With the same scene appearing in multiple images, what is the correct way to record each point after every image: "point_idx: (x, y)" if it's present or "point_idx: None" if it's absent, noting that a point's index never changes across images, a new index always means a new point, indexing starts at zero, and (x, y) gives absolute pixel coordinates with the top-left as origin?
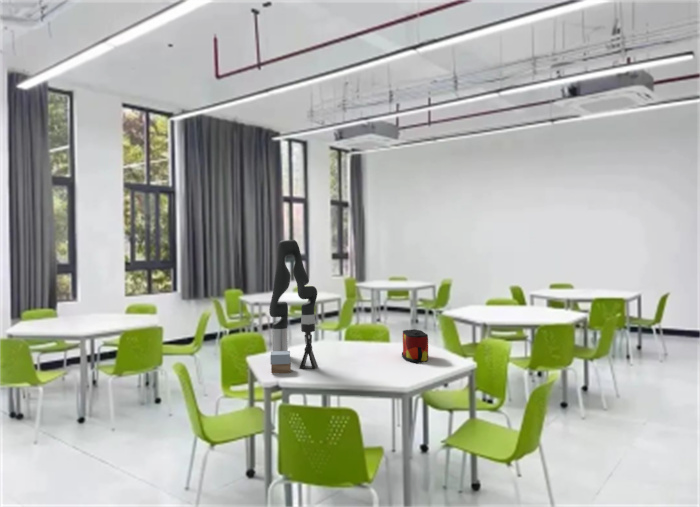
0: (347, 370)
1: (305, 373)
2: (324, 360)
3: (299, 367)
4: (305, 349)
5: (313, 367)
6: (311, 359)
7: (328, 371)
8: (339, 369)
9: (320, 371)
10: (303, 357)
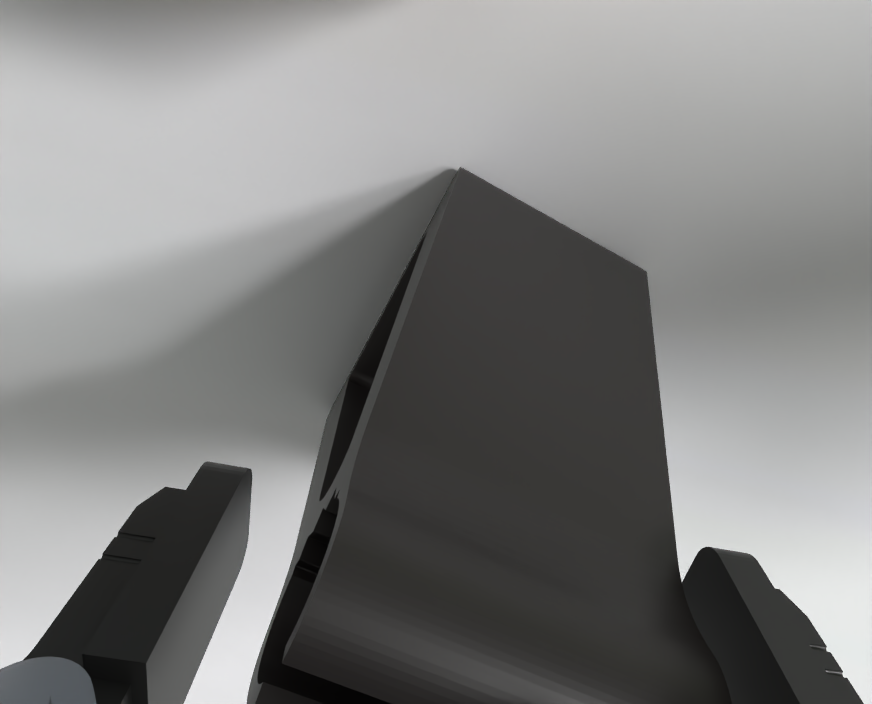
0: None
1: (14, 174)
2: (865, 658)
3: (459, 172)
4: (403, 542)
5: (337, 402)
6: (321, 462)
7: (126, 520)
8: (222, 647)
9: (143, 433)
10: (401, 329)
